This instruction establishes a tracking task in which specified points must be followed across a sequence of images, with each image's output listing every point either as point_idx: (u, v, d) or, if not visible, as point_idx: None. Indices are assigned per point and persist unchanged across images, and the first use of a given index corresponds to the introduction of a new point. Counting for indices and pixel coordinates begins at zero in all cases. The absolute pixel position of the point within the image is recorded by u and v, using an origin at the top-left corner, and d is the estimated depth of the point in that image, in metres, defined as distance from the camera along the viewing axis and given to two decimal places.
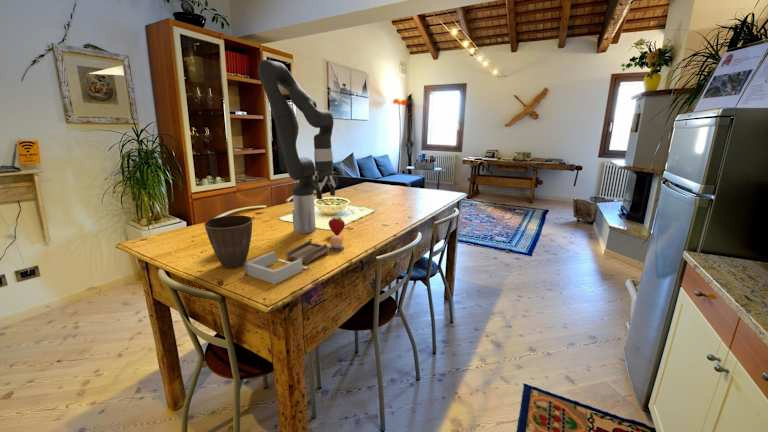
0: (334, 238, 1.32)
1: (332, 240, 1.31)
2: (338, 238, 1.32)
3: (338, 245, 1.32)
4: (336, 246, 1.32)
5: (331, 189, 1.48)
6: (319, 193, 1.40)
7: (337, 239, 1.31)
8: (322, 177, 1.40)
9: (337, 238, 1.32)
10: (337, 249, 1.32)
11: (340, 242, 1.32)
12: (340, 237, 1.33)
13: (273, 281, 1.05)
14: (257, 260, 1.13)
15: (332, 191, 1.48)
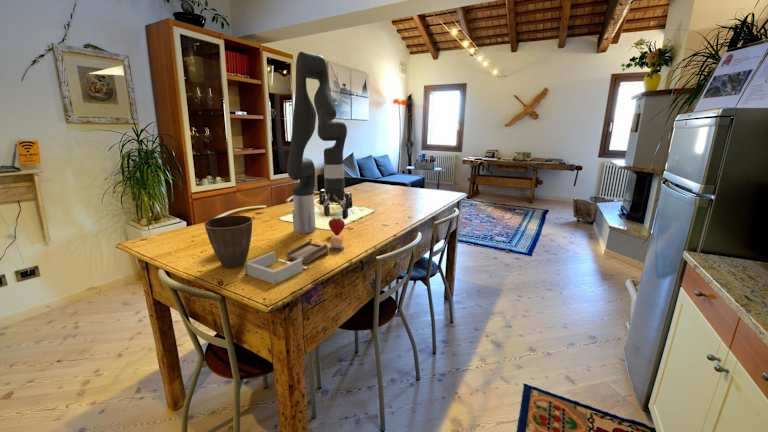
0: (334, 238, 1.32)
1: (332, 240, 1.31)
2: (338, 238, 1.32)
3: (338, 245, 1.32)
4: (336, 246, 1.32)
5: (327, 209, 1.32)
6: None
7: (337, 239, 1.31)
8: None
9: (337, 238, 1.32)
10: (337, 249, 1.32)
11: (340, 242, 1.32)
12: (340, 237, 1.33)
13: (273, 281, 1.05)
14: (257, 260, 1.13)
15: (328, 211, 1.33)
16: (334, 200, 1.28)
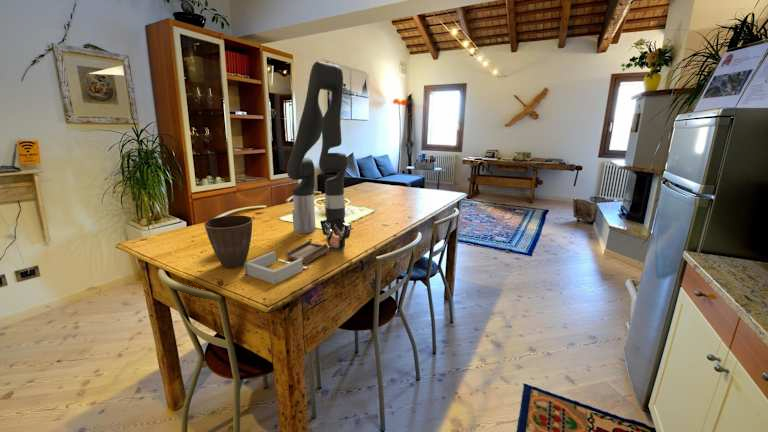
0: (334, 238, 1.32)
1: (332, 240, 1.31)
2: (338, 238, 1.32)
3: (338, 245, 1.32)
4: (336, 246, 1.32)
5: None
6: None
7: (337, 239, 1.31)
8: None
9: (337, 238, 1.32)
10: (337, 249, 1.32)
11: None
12: None
13: (273, 281, 1.05)
14: (257, 260, 1.13)
15: None
16: (333, 228, 1.31)
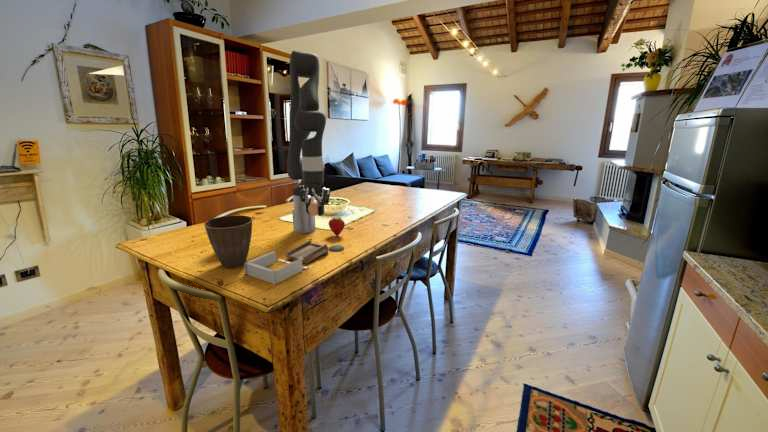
0: (312, 204, 1.23)
1: (310, 206, 1.23)
2: (317, 204, 1.24)
3: (317, 212, 1.23)
4: (315, 213, 1.23)
5: None
6: None
7: (315, 205, 1.23)
8: None
9: (316, 204, 1.23)
10: (337, 249, 1.32)
11: None
12: None
13: (273, 281, 1.05)
14: (257, 260, 1.13)
15: None
16: (312, 193, 1.23)
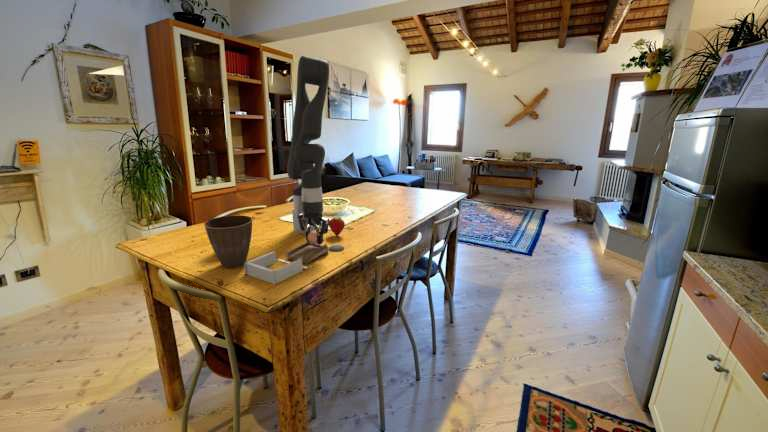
0: (312, 233, 1.26)
1: (310, 235, 1.26)
2: (316, 233, 1.26)
3: (316, 241, 1.26)
4: (314, 242, 1.26)
5: None
6: None
7: (314, 234, 1.26)
8: None
9: (315, 233, 1.26)
10: (337, 249, 1.32)
11: None
12: None
13: (273, 281, 1.05)
14: (257, 260, 1.13)
15: None
16: (311, 222, 1.25)
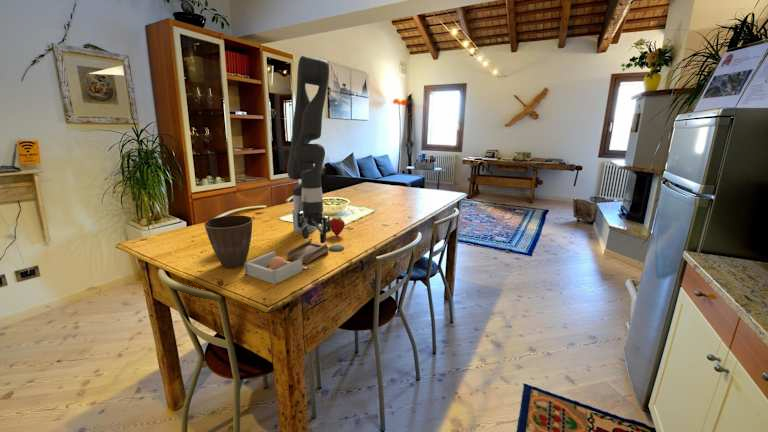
0: None
1: None
2: (276, 268, 1.12)
3: None
4: None
5: (306, 231, 1.29)
6: None
7: None
8: None
9: None
10: (337, 249, 1.32)
11: (281, 266, 1.12)
12: (275, 264, 1.11)
13: (273, 281, 1.05)
14: (257, 260, 1.13)
15: (307, 233, 1.30)
16: (312, 223, 1.25)
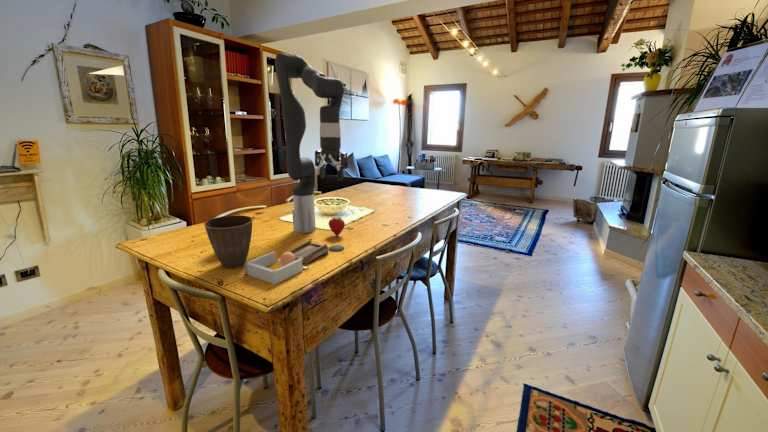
0: (286, 254, 1.16)
1: (283, 256, 1.16)
2: (290, 254, 1.16)
3: (289, 262, 1.16)
4: (287, 263, 1.16)
5: (323, 170, 1.30)
6: None
7: (289, 255, 1.16)
8: None
9: (289, 254, 1.16)
10: (337, 249, 1.32)
11: (292, 259, 1.16)
12: (293, 254, 1.18)
13: (273, 281, 1.05)
14: (257, 260, 1.13)
15: (324, 172, 1.31)
16: (329, 160, 1.26)
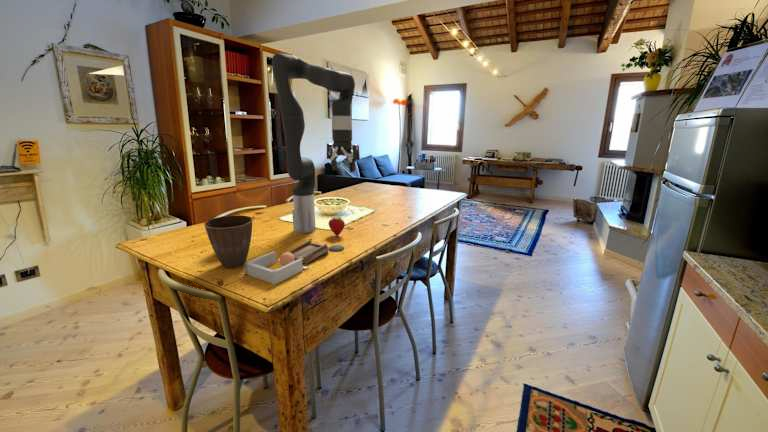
0: (284, 255, 1.16)
1: (282, 257, 1.15)
2: (289, 255, 1.16)
3: (288, 263, 1.16)
4: (286, 264, 1.16)
5: (334, 163, 1.33)
6: None
7: (287, 256, 1.15)
8: None
9: (288, 255, 1.16)
10: (337, 249, 1.32)
11: (291, 260, 1.16)
12: (292, 254, 1.17)
13: (273, 281, 1.05)
14: (257, 260, 1.13)
15: (335, 165, 1.34)
16: (341, 153, 1.29)
